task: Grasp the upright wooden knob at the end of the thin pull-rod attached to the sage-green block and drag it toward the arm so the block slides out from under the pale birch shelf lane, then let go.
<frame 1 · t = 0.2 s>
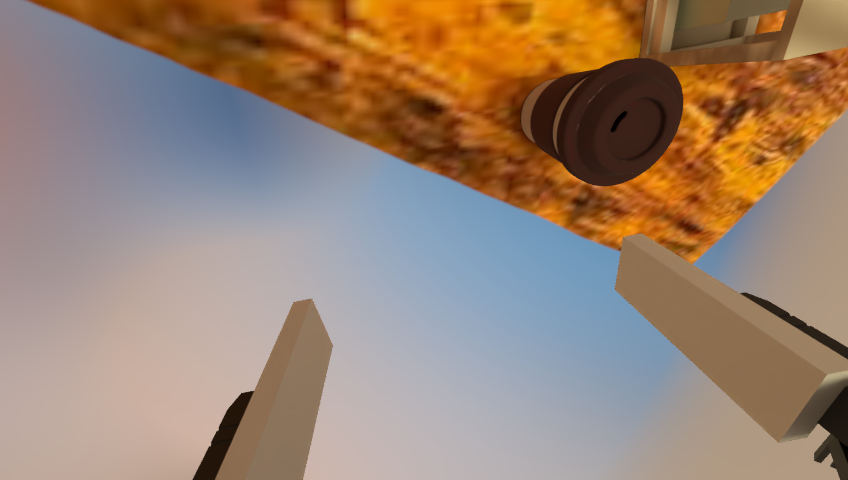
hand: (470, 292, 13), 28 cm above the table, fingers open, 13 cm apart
coffee cup: (548, 112, 37), on the table
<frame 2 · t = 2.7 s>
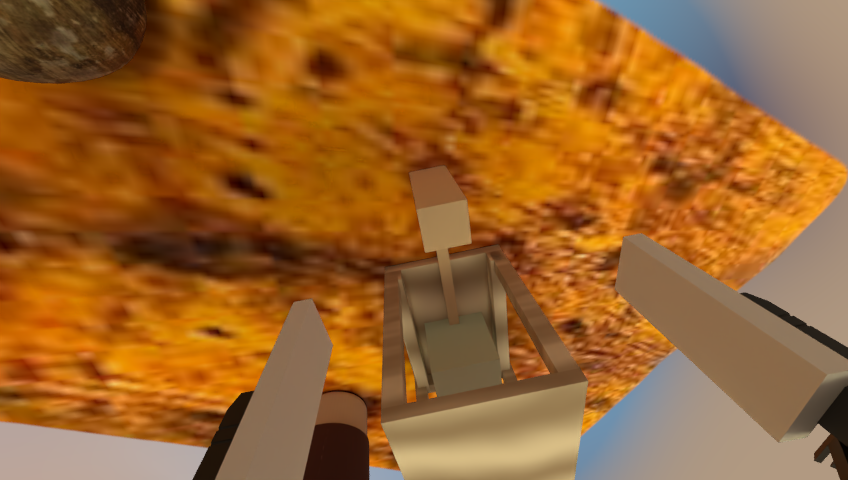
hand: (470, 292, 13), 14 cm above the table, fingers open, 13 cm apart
coffee cup: (338, 406, 38), on the table
tethered block: (456, 338, 33), point 1 cm above the table, touching shelf lane
shelf lane: (452, 317, 32), on the table
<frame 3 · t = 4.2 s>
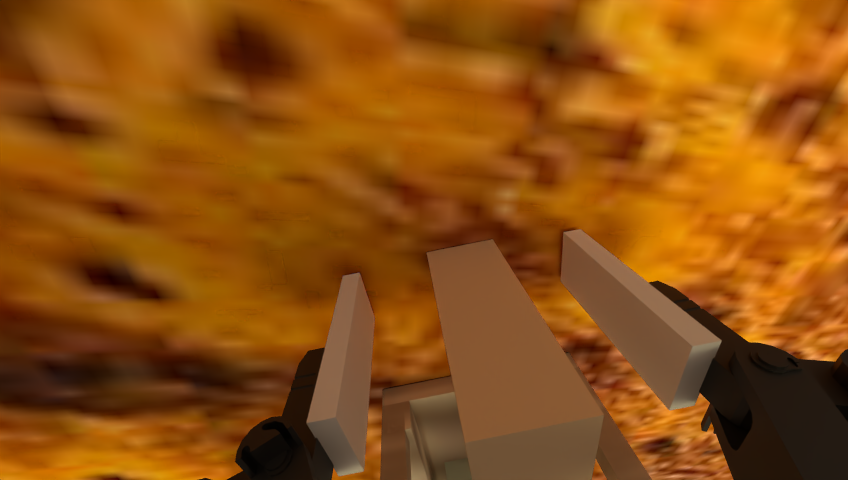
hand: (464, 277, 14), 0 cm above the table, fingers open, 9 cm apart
tethered block: (491, 475, 21), point 1 cm above the table, touching shelf lane
shelf lane: (485, 445, 21), on the table
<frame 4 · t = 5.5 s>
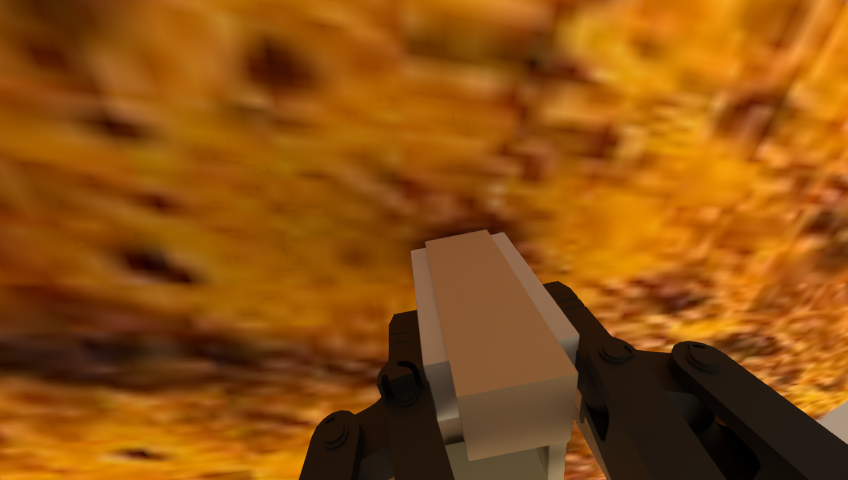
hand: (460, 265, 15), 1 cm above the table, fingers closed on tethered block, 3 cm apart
tethered block: (487, 460, 22), point 2 cm above the table, touching gripper
shelf lane: (482, 425, 23), on the table
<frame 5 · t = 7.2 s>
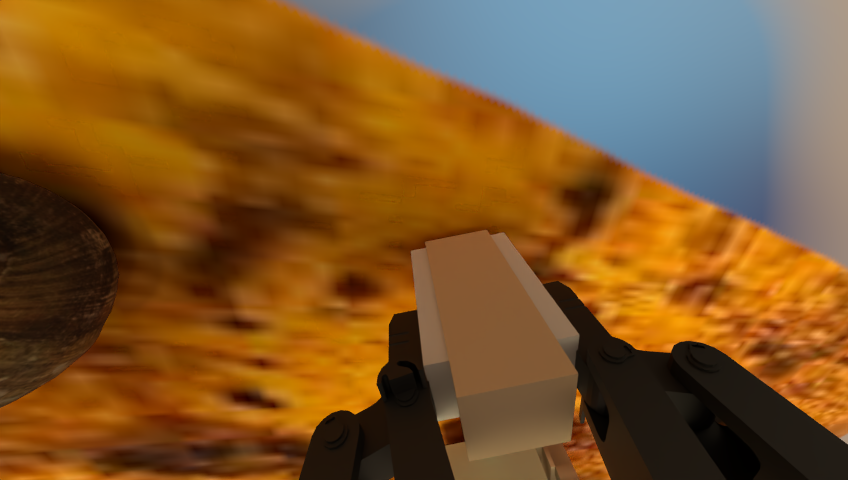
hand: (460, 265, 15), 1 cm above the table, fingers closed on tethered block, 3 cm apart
tethered block: (488, 460, 22), point 2 cm above the table, touching gripper
seashell: (15, 233, 13), on the table
when the fingers open (1 cm above the table, at t = 8.9 s): tethered block drops 2 cm, on the table.
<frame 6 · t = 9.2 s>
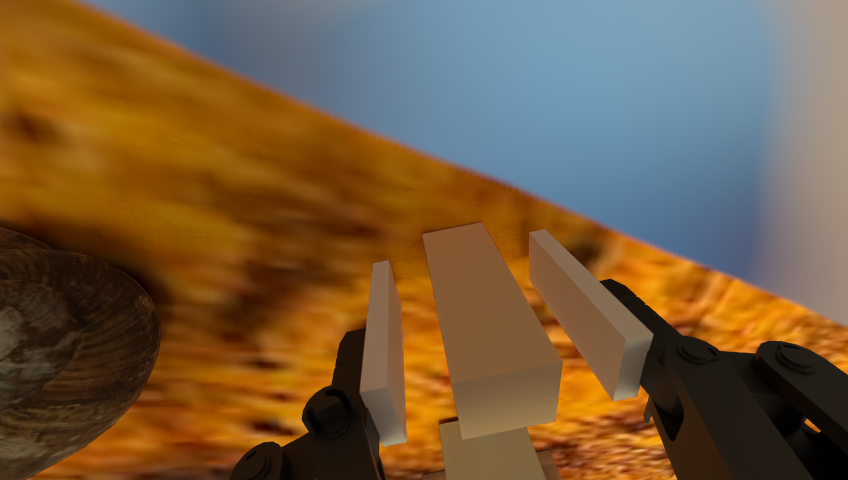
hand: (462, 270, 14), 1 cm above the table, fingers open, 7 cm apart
tethered block: (481, 436, 24), on the table
seashell: (67, 291, 15), on the table
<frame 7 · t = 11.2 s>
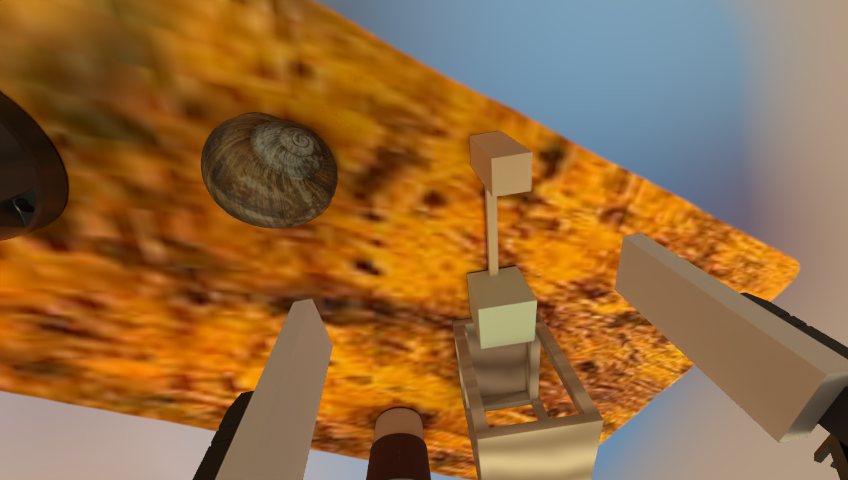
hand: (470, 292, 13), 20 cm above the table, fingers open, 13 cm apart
coffee cup: (399, 419, 48), on the table
tethered block: (492, 289, 37), on the table
shelf lane: (496, 357, 43), on the table
seashell: (284, 159, 29), on the table
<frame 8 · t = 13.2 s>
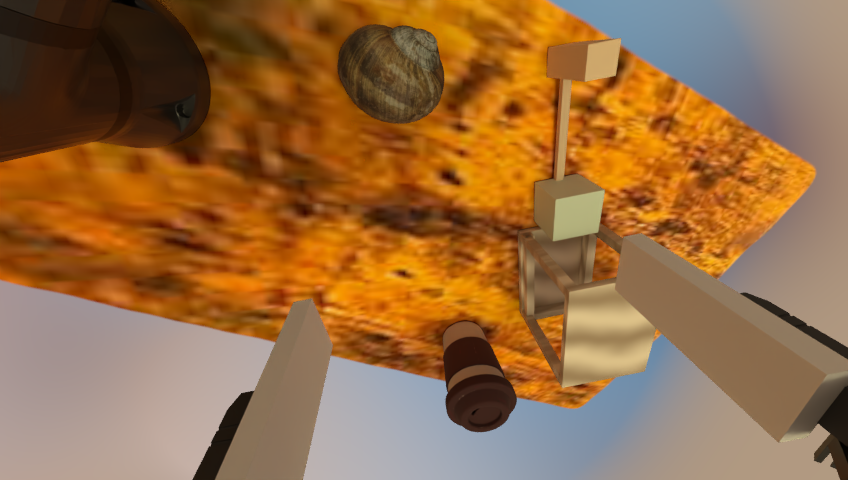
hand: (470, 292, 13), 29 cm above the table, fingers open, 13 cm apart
coffee cup: (462, 334, 54), on the table
tethered block: (555, 197, 43), on the table
shelf lane: (552, 267, 49), on the table
seashell: (391, 73, 34), on the table
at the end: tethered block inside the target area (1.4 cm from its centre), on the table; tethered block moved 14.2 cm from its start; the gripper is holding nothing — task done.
